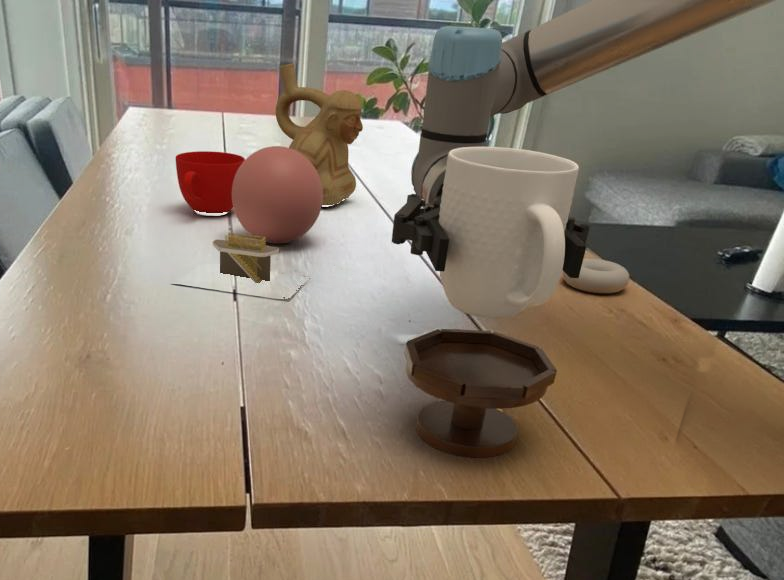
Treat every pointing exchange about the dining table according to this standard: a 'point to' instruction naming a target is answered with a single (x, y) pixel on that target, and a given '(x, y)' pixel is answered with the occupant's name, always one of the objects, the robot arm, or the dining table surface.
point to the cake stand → (474, 387)
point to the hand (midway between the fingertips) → (510, 258)
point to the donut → (599, 277)
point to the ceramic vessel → (323, 133)
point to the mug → (504, 228)
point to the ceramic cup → (207, 179)
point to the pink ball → (277, 194)
